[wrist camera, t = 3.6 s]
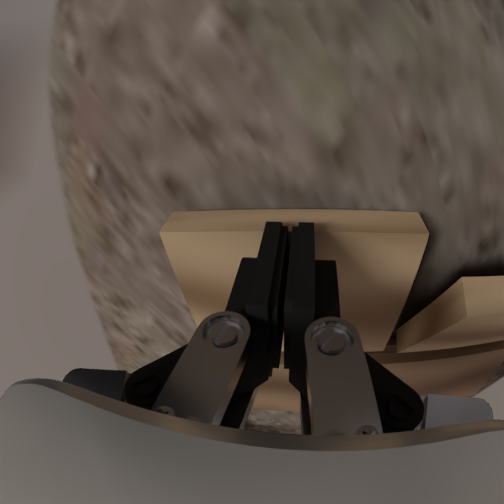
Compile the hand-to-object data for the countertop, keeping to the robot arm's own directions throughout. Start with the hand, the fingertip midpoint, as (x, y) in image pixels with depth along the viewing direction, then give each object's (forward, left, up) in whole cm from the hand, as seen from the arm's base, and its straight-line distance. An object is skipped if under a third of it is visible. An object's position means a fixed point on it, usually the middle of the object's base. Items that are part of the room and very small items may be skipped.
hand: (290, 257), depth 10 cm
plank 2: (+3, +11, 0) cm, 12 cm away
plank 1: (+3, 0, -2) cm, 3 cm away
